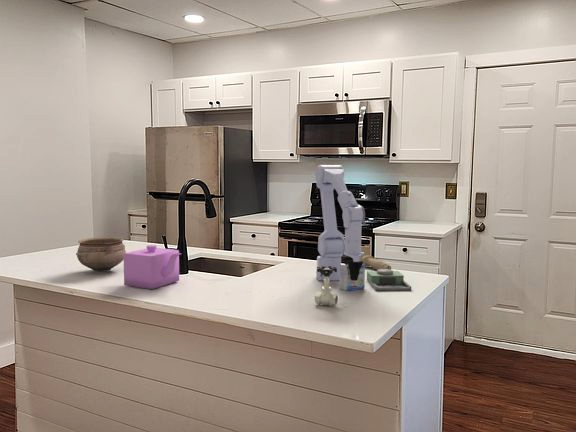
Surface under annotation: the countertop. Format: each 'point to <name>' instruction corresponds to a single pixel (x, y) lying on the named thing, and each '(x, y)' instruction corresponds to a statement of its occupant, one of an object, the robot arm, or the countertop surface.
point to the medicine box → (346, 280)
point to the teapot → (151, 267)
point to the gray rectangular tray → (391, 287)
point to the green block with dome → (385, 277)
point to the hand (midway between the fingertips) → (352, 278)
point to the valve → (326, 288)
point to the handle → (374, 263)
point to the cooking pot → (101, 253)
